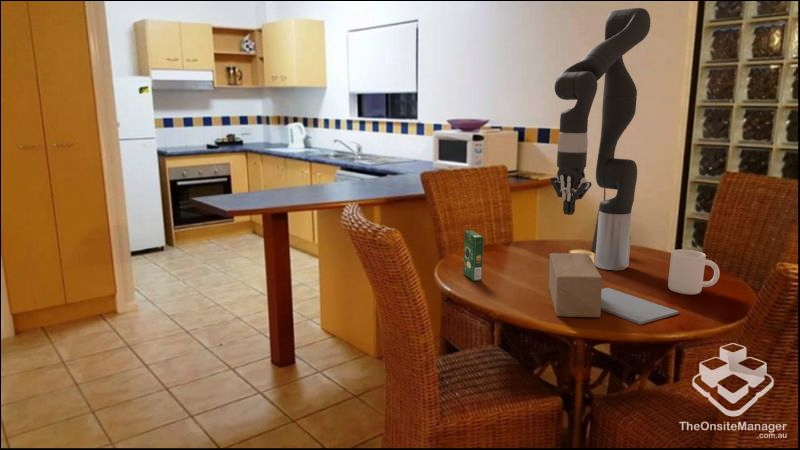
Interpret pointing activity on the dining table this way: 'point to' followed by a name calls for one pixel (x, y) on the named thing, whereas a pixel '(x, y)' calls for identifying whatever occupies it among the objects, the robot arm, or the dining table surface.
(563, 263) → the wooden block
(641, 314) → the slate mat
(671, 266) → the mug
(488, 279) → the dining table surface
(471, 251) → the coffee box
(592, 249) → the butter churn
